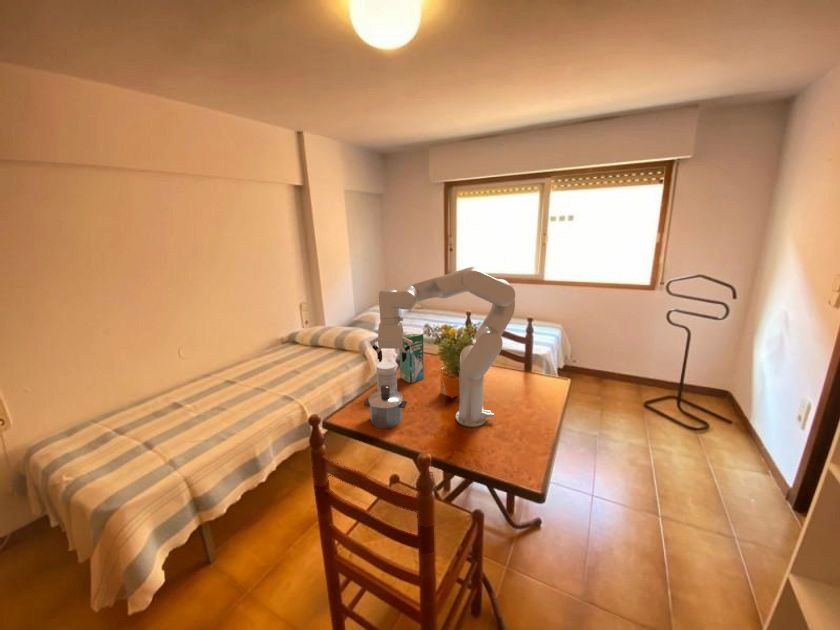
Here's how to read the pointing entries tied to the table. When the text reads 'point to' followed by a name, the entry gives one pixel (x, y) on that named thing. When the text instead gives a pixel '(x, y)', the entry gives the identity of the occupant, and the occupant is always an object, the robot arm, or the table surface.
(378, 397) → the lid
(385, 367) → the supplement tub
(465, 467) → the table surface
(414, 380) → the milk carton
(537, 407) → the table surface
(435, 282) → the robot arm
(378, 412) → the stockpot
